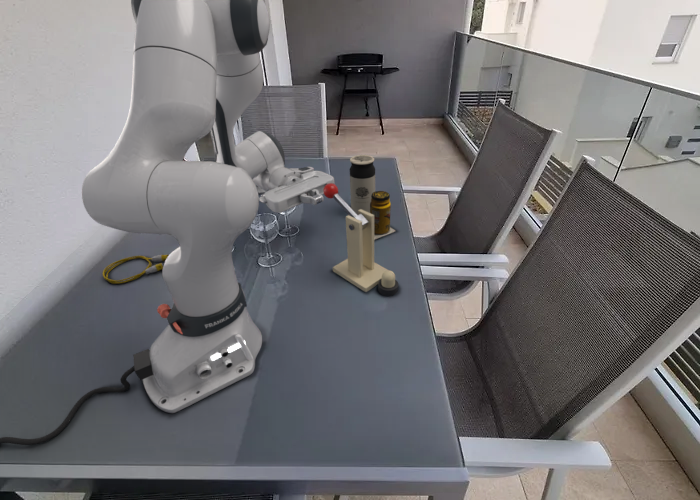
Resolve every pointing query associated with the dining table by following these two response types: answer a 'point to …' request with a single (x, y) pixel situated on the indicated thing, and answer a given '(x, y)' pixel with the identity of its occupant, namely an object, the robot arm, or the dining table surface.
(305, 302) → the dining table surface
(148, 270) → the extension cord
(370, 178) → the travel mug
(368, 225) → the switch bracket
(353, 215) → the switch lever
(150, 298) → the dining table surface
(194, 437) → the dining table surface
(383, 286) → the pilot lamp
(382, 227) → the condiment
